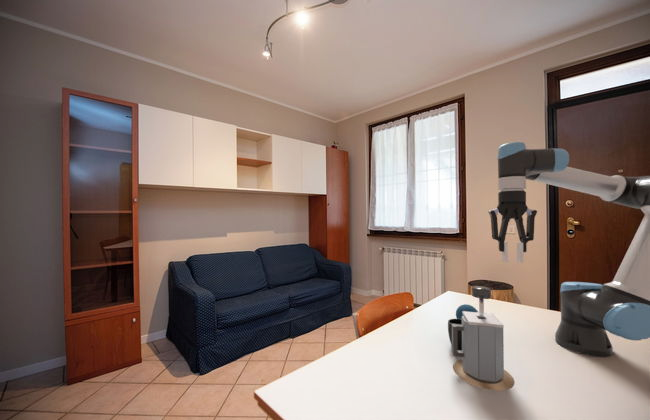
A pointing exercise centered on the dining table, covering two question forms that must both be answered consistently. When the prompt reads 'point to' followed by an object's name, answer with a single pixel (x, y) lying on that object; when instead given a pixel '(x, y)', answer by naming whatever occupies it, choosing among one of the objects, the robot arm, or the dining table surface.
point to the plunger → (481, 297)
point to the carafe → (480, 347)
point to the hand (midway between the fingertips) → (512, 261)
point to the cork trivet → (503, 385)
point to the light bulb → (464, 308)
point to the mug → (459, 332)
